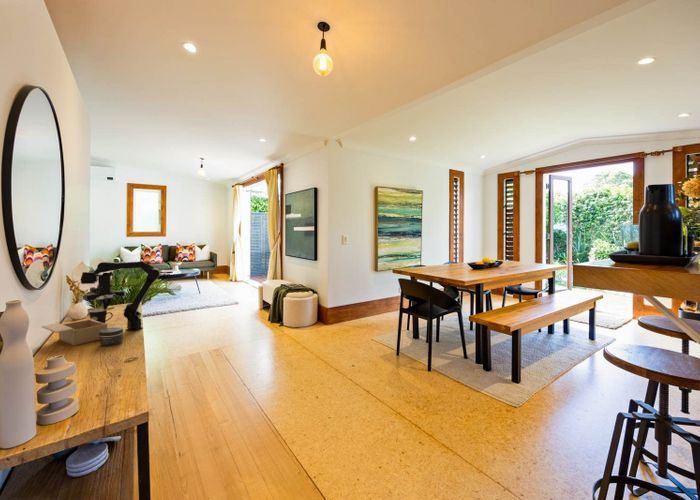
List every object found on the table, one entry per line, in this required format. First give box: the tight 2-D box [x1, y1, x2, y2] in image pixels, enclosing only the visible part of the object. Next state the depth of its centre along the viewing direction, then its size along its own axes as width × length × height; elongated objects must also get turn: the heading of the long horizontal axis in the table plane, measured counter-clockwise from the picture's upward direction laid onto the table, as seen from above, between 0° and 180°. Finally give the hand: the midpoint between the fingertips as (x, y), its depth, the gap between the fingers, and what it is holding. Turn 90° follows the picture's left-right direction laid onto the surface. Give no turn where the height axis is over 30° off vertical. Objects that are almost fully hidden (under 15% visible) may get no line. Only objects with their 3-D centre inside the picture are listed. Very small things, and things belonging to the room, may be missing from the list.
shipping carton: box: [58, 318, 108, 347], centre depth 169 cm, size 15×19×8 cm
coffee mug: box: [88, 308, 113, 324], centre depth 192 cm, size 12×9×10 cm
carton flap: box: [41, 322, 74, 334], centre depth 160 cm, size 1×18×7 cm
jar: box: [99, 326, 124, 348], centre depth 163 cm, size 10×10×8 cm
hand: (104, 309), depth 182 cm, fingers closed
